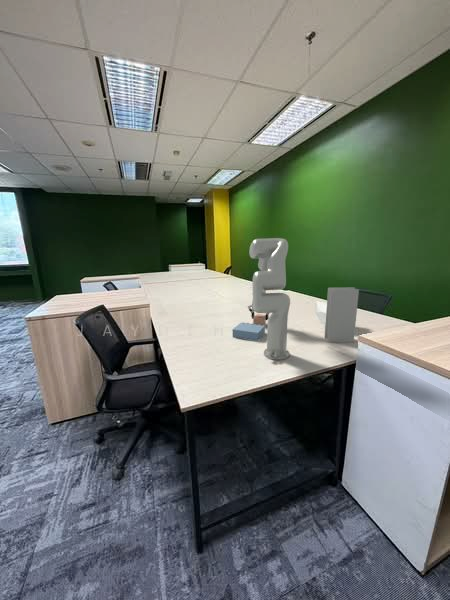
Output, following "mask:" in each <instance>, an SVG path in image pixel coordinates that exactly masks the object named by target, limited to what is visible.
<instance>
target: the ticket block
mask: <svg viewBox="0 0 450 600" xmlns="http://www.w3.org/2000/svg"><path fill="white" fill-rule="evenodd" d="M265 333H266V324H264V325H258V324H253V323H249V322H240V323H239V324H237V325H236V326H234V327H233V328H232V338H236V339H243V340H248V341H249V340H250V341H254V342H255V341H256V342H258V341H259V340H260V339H261V338H262V337H263V336H264V335H265Z"/></svg>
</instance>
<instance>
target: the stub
mask: <svg viewBox="0 0 450 600" xmlns="http://www.w3.org/2000/svg"><path fill="white" fill-rule="evenodd" d="M252 321H253V322H252V324H258V325H266V322H267V320H266V314H263V313H257V314H256V315H254V317H253V320H252Z"/></svg>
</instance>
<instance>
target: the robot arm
mask: <svg viewBox="0 0 450 600" xmlns="http://www.w3.org/2000/svg"><path fill="white" fill-rule="evenodd" d="M288 252H289V243H288V240H287V239H285V238H281V237H274V238H273V237H271V238H270V237H269V238H256V239H254V240H252V242H251V243H250V246H249V257H250V258H251V259H258V263H257V267H258V269H259V270H257V271H255V272H254V273H253V276H252V301H251V302H252V303H251V304H250V305H248V306H247V308H248V311H249V312H250V313H251V314H250V315H251V319H253V317H255V313H257V314H265V315H266V321H267V330H266V333H267V336H266V338H267V339H266V348H265V349H264V351H263V354H264V356H265V357H266V358H268V359H270V360H278V361H283V360H286V359H288V358H289V357H290V351H289V350H288V349H287V341H288V339H287V338H288V319H289V318H288V317H289V311H290V306H291V298H290V295H288V294H287V293H284V292H267V291H277V290H278V291H280V290H283V289H284V288H285V287H286V286H287V271H286V258H287V255H288ZM269 314H270V315H269Z"/></svg>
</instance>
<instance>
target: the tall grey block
mask: <svg viewBox="0 0 450 600" xmlns="http://www.w3.org/2000/svg"><path fill="white" fill-rule="evenodd" d="M359 293H360V288H356V287H328V288H327V296H326V298H327V299H326V303H327V310H326V323H325V324H324V336H323V338H324V339H326V342H327V343H328V342H329V343H354V340H355V333H356V332H355V329H356V324H357V323H356V321H357V313H358V304H359V303H358V302H359V295H360V294H359Z"/></svg>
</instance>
